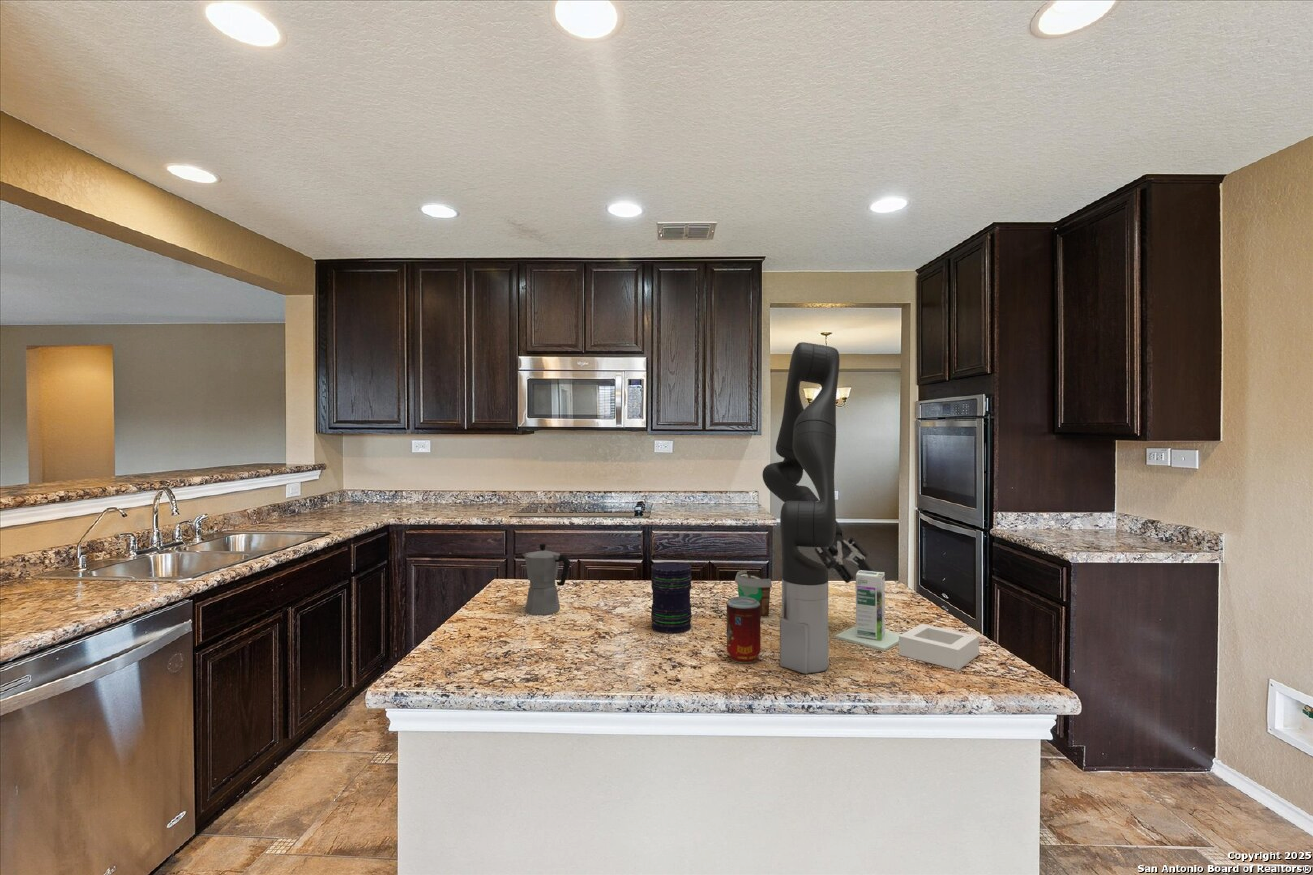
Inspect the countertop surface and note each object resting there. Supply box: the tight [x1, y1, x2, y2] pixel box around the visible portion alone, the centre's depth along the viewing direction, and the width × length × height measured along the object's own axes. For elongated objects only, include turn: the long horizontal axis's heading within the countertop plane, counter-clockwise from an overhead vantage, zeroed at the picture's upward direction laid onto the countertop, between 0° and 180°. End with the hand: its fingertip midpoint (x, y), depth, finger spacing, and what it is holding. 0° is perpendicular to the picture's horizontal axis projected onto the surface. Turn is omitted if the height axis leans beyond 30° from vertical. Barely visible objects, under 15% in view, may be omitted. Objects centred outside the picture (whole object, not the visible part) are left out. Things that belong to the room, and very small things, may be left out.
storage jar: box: [650, 561, 692, 635], centre depth 147 cm, size 10×10×15 cm
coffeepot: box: [522, 543, 571, 616], centre depth 161 cm, size 15×9×18 cm, turn 62°
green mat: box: [833, 625, 902, 652], centre depth 139 cm, size 12×12×1 cm
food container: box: [734, 569, 773, 617], centre depth 159 cm, size 12×6×10 cm, turn 25°
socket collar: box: [898, 623, 980, 671], centre depth 128 cm, size 12×12×4 cm
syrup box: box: [855, 569, 886, 640], centre depth 139 cm, size 6×6×14 cm
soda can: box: [726, 596, 762, 664], centre depth 126 cm, size 7×7×12 cm
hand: (860, 578), depth 141 cm, fingers open, 8 cm apart
